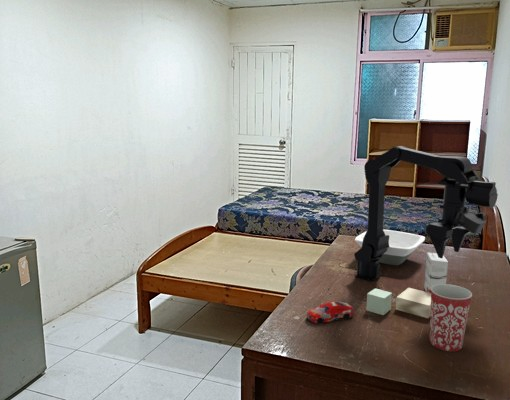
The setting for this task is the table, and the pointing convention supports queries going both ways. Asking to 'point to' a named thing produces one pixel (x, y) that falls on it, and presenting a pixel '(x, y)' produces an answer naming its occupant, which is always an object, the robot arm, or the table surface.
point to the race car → (330, 312)
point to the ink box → (435, 271)
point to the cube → (379, 301)
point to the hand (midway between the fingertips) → (448, 254)
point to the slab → (414, 302)
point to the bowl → (397, 246)
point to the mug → (449, 316)
